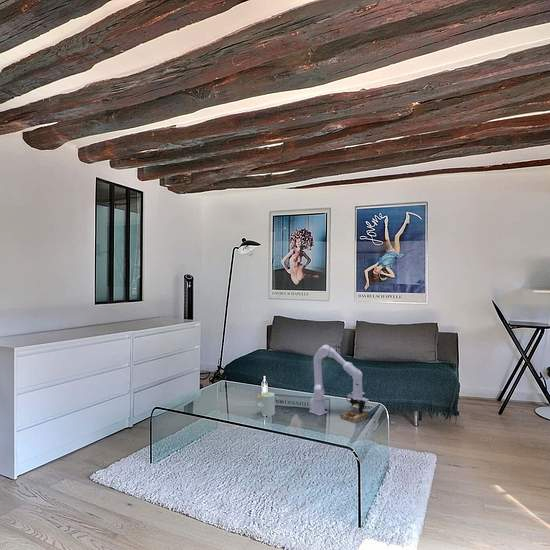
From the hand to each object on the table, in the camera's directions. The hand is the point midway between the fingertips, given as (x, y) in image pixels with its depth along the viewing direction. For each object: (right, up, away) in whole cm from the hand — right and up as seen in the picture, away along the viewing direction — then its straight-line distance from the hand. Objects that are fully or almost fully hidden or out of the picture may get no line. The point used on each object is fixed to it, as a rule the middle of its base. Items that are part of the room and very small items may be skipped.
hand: (357, 411), depth 262 cm
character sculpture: (-58, -4, +6) cm, 58 cm away
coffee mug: (+2, -3, +15) cm, 15 cm away
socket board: (-3, -3, -2) cm, 5 cm away
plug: (0, -3, 0) cm, 3 cm away
